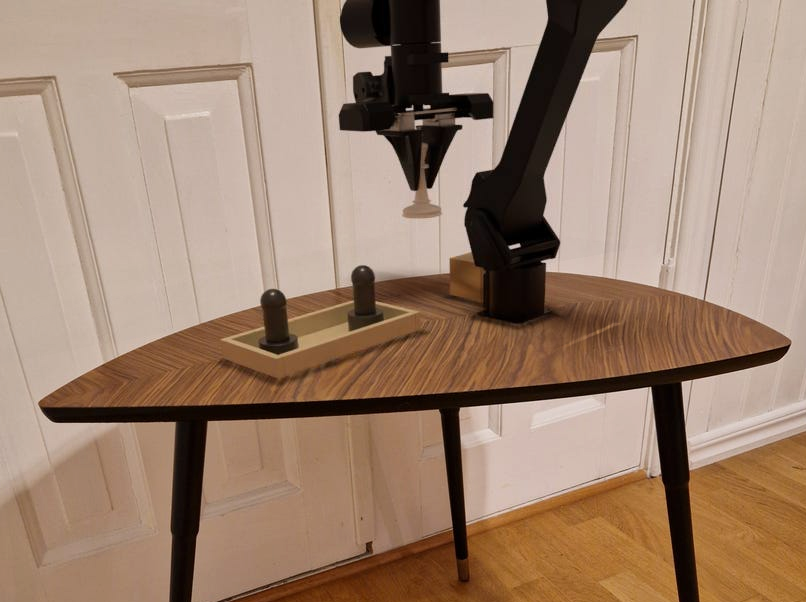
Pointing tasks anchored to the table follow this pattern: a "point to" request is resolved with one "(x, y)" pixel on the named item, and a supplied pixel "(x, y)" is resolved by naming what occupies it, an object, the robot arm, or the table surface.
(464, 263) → the maple block
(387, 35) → the robot arm
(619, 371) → the table surface
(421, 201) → the chess piece
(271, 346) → the pawn
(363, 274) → the pawn
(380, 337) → the tray
